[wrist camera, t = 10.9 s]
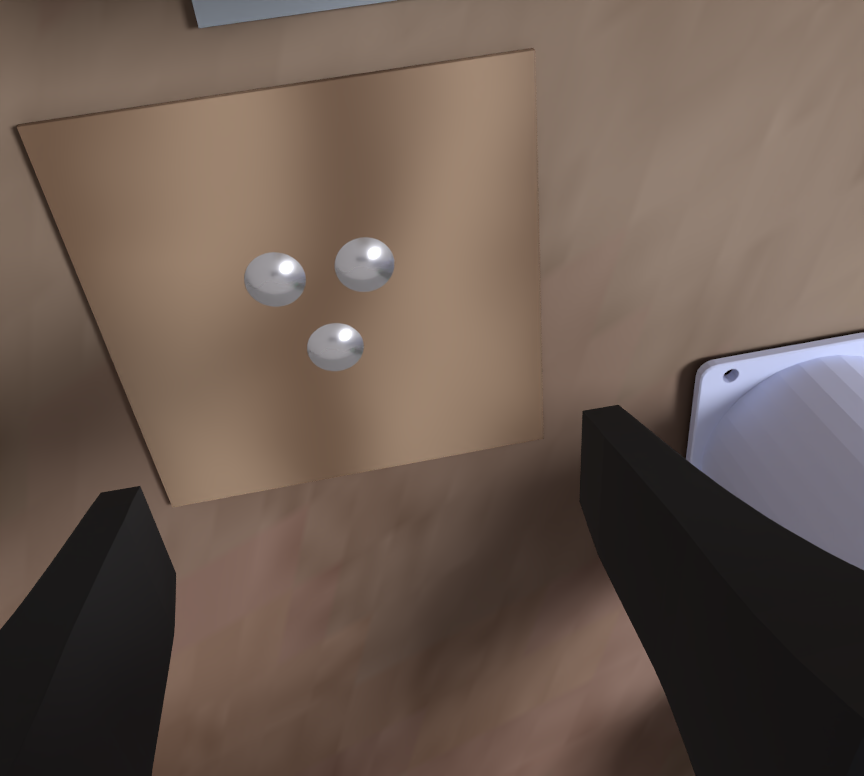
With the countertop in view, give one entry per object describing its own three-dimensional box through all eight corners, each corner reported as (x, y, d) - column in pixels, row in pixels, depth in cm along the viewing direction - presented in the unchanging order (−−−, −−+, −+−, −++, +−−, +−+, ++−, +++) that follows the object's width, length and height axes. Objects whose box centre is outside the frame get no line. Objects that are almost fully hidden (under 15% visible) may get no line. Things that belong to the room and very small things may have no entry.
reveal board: (533, 48, 19) (535, 50, 19) (541, 435, 26) (543, 438, 26) (18, 124, 18) (16, 127, 18) (173, 503, 25) (172, 507, 25)
